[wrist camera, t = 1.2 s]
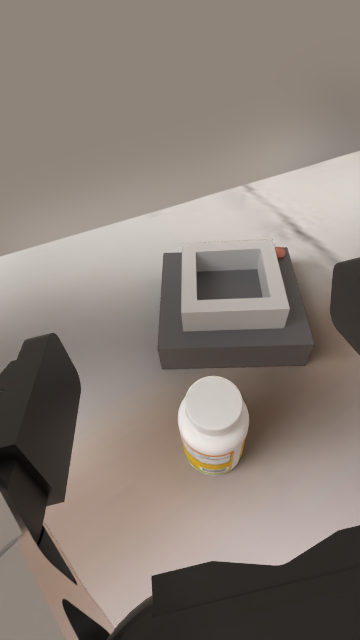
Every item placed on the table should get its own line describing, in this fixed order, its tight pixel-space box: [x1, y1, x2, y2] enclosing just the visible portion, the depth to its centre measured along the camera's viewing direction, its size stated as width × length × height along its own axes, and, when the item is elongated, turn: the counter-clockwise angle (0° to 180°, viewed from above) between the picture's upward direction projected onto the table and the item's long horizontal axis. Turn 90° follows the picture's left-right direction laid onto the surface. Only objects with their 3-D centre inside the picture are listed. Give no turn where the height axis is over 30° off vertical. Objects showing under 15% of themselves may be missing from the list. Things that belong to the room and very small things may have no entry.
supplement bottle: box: [178, 376, 249, 475], centre depth 26 cm, size 5×5×10 cm
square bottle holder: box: [158, 239, 315, 369], centre depth 37 cm, size 15×14×7 cm
